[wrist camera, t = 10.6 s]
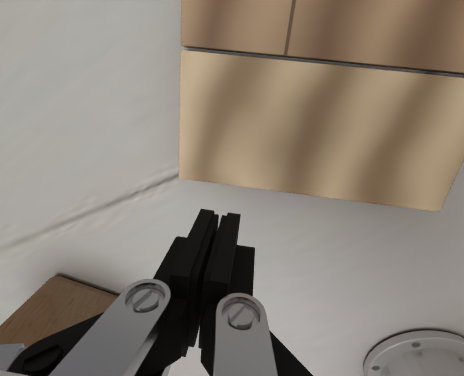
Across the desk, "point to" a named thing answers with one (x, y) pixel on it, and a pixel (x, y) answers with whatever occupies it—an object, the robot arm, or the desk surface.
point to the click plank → (321, 129)
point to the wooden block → (53, 311)
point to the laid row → (333, 30)
